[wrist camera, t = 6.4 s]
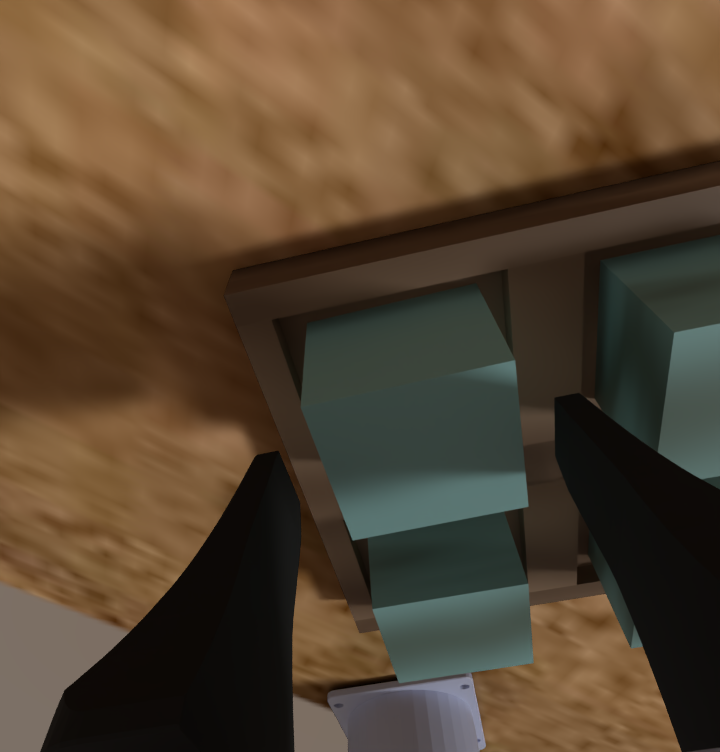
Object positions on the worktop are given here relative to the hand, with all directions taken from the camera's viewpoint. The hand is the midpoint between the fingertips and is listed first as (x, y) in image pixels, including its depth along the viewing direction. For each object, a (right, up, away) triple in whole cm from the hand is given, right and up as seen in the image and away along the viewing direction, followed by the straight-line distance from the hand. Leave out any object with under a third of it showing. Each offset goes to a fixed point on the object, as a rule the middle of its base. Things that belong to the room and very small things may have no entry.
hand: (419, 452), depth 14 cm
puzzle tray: (+5, 0, +6) cm, 7 cm away
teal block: (0, +2, +3) cm, 4 cm away
